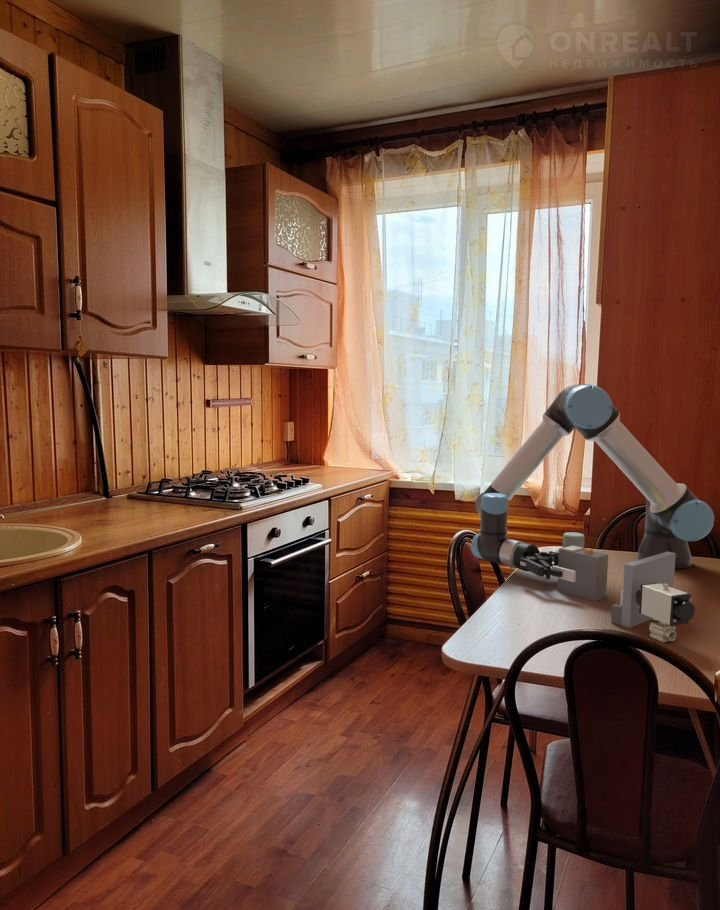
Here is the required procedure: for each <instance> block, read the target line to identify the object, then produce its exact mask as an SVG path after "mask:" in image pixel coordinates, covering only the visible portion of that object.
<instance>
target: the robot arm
mask: <svg viewBox="0 0 720 910" xmlns="http://www.w3.org/2000/svg"><path fill="white" fill-rule="evenodd" d="M620 419H621V412H620V411H619V410H618V409H617V407H615V405H614V404H613V402H612V399H611V397H610V396H609V394H608V393H607V391H606V390H604V389H603V388H601V387H599V386H597V385H594V384H587V383H586V384H572V385H569V386H567V387H565V388H563V390H561V392H559V394H557V396H556V397H555V399H554V400H553V401H552V403H551V404H550V406H548V408H547V409H546V411H545V412H544V413H543V414H542V421H541V422H540V423H539V425H538V426H537V427H536V428H535V430H533V432H532V433H531V434H530V435H529V437H528V438H527V439H526V441H524V443H523V444H522V445H521V446H520V448H519V449H518V450H517V451H516V453H515V454H514V455H513V456H512V458H511V459H510V460H509V461H508V462H507V463H506V465H505V466H504V467H503V469H502V470H501V471H500V472H499V473H498V475H497V476H496V477H495V478H494V479H493V481H492V482H491V483H490V484H489V486H488V487H487V488H486V489H485V490H484V491H483V492H481V493H479V494H478V495H477V497H476V498H475V501H474V504H475V506H474V507H475V510H476V512H477V514H478V515H479V516H480V529H479V530H480V531H479V532H478V533H476V534H475V535H474V536H473V537H472V542H471V544H470V546H471V548H470V549H471V552H472V554H473V556H474V557H476V558H478V559H481V560H483V561H486V562H491V563H495V564H500V565H501V566H502V565H503V566H508V567H509V569H512V570H513V568H515V569H518V570H522V571H525V572H530V573H533V575H537V576H538V577H541V578H543V577H545V579H546V580H550V579H551V577H552V578H556V579H558V578H559V579H563V580H567V581H571V582H576V571H573V570H569V569H566V568H562V567H558V560H559V553H557V552H555V551H552V550H550V551H548V552H547V551H540V549H539V548H538V546H537V545H535V544H534V543H530V542H529V543H528V542H524V541H521V540H516V539H513V538H508V537H507V534H508V514H509V513H508V512H509V502H510V501H512V499H513V497H514V496H515V495H516V494H517V493H518V492H519V491H520V489H521V488H522V487H523V486H524V484H525V483H526V482H527V480H528V479H529V478H530V477H531V476H532V475H533V473H534V472H535V471H536V470H537V469H538V467H539V466H540V465H541V464H542V462H543V461H544V460H546V457H547V456H548V455H549V454H550V453H551V451H552V450H553V449H554V448H555V447H556V446H557V444H558V443H559V442H560V441H561V440H562V438H563V437H566V436H569V435H570V434H571V433H572V432H573V431H574V430H575V429H576V431H577V432H578V433H580V435H581V436H582V437H583V438H584V439H585V440H586V441H592V442H595V443H596V444H597V445H598V446H599V447H600V448H601V450H602V451H603V452H604V453H605V454H606V455H607V456H608V457H609V459H611V461H612V462H613V463H614V464H615V465H616V467H618V468H619V470H620V471H621V472H622V473H623V474H624V475H625V477H627V478H628V480H629V481H630V482H631V483H633V485H634V486H635V488H637V489H638V491H639V492H641V495H643V496H644V497H645V500H646V502H645V521H644V534H643V537H642V540H641V542H640V545H639V548H638V550H637V553H636V554H637V555H636V561H637V560H640V559H644V558H647V557H650V556H654V555H657V554H661V553H664V552H672V553H676V556H675V569H686V568H689V567H691V566H692V563H693V562H692V559H693V558H692V554H691V551H690V547H689V543H688V542H696V541H699V540H701V539H704V538H705V537H706V536H707V535H709V534H710V533H711V531H712V529H713V527H714V523H715V514H714V512H713V509H712V508H711V506H710V505H708V504H707V503H706V502H705V501H703V500H700V499H699V498H698V497H697V496H696V495H695V493H694V492H692V491H691V490H690V488H689V487H688V486H687V485H686V484H685V483H677V482H676V481H675V480H674V479H673V478H672V477H671V476H670V475H669V474H668V473H667V472H666V470H665V469H664V468H663V467H662V466H661V465H660V464H659V463H658V462H657V460H656V459H655V458H654V457H653V455H651V454H650V453H649V451H648V450H647V449H646V448H645V447H644V446H643V445H642V444H641V442H639V441H638V440H637V438H636V437H635V436H634V435H633V434H632V433H631V431H629V429H628V428H627V427H626V426H625V425H624V424H623V423H622V421H621V420H620Z"/></svg>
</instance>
